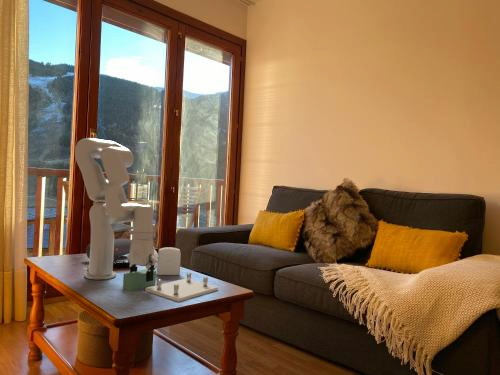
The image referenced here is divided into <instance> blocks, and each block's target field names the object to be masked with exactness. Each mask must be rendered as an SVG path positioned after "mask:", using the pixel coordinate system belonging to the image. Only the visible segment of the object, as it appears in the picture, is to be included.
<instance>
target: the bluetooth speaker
mask: <svg viewBox="0 0 500 375" xmlns="http://www.w3.org/2000/svg"><path fill="white" fill-rule="evenodd" d="M131 241H132V239H130V238H114V254H113V260H117V258H118V259H119V258H120V257H123V256H126V255H129V254H130V245H131ZM85 253H86V254H85V255H86V257H87V259H89V260H90V243H89V244H88V245H87V246H86V249H85Z"/></svg>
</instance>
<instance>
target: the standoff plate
mask: <svg viewBox="0 0 500 375" xmlns="http://www.w3.org/2000/svg"><path fill="white" fill-rule="evenodd" d="M202 278H203V279H202V282H200V281H198V280H197V281H196V280H193V279H192V273H191V272H187V273H186V277H185V278H182V279H178V280H174V281H169V282H164V283H163V279H160V278H158V279H157V281H156V284H155V286H151V287H147V288H144V289H145V292H148V293H150V294H153V295H157V296H160V297H162V298H166V299H169V300H171V301H174V302H178V303H179V302H183V301H185V300H189V299H193V298H196V297H199V296H203V295H206V294H210V293H213V292H216V290H217V291H218V290H219V287H218V286H215V285H211V284H208V282H209V277H207V276H204V277H202Z"/></svg>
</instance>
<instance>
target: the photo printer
mask: <svg viewBox="0 0 500 375" xmlns="http://www.w3.org/2000/svg"><path fill="white" fill-rule="evenodd" d="M157 254H158V258H157V260H158V263H157V265H156V266H157V267H156V269H157V270H156V276H180V274H181V255H182V253H181V249H179V248H176V247H171V246H170V247H167V246H166V247H162V248H159V249H158V252H157Z"/></svg>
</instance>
